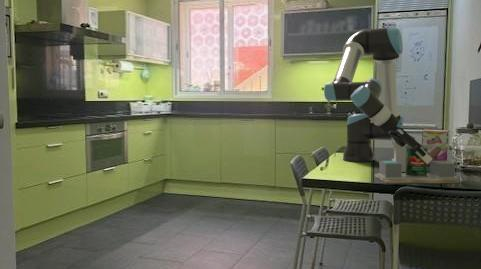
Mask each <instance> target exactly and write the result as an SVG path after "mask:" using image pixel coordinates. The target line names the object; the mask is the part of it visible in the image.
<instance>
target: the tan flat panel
mask: <svg viewBox="0 0 481 269" xmlns="http://www.w3.org/2000/svg"><path fill="white" fill-rule="evenodd" d="M375 174H376V176H378V177H380V178H382V179H383V180H431V179H459V177H458V176H456V175H454V177H438V176H435V175H433V174H430V172H427V176H425V177H412V176H406V175H405V173H402V175H401V177H384V176H383V175H381V174H379V172H376V173H375Z"/></svg>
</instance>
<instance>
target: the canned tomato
mask: <svg viewBox="0 0 481 269" xmlns="http://www.w3.org/2000/svg"><path fill="white" fill-rule="evenodd" d="M421 147H422V148H423V149H424V150H425V152H426V153H427V154H428V147H426V146H421ZM413 151H414V150H413V149H412V148H411V147H410V146H406V165H405V166H406V167H405V175H406V176H412V177H425V176H427V173H428V166H427V164H426V163H425V162H424V161H423V160H422V159H421V158H420V157H419V156H418V154H417V153H416V152H415V153H414V152H413Z"/></svg>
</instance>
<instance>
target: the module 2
mask: <svg viewBox="0 0 481 269" xmlns="http://www.w3.org/2000/svg"><path fill="white" fill-rule="evenodd" d="M455 169H456V163H453V162H451V161H449V162H448V161H430V166H429V173H430V174H433V175H435V176H438V177H454V176H456V175H455V171H456V170H455Z"/></svg>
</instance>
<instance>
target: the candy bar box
mask: <svg viewBox="0 0 481 269" xmlns="http://www.w3.org/2000/svg"><path fill="white" fill-rule="evenodd" d="M421 136H422V138H421V145H424V146H426V147H428V153H429V156H430V157H431V158H432V160H431V161H448V162H450V161H449V159H450V141H451V139H450V138H451V130H444V129H443V130H442V129H441V130H440V129H423V130H422V135H421ZM427 167H430V162H429V163H428V164H427Z"/></svg>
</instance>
